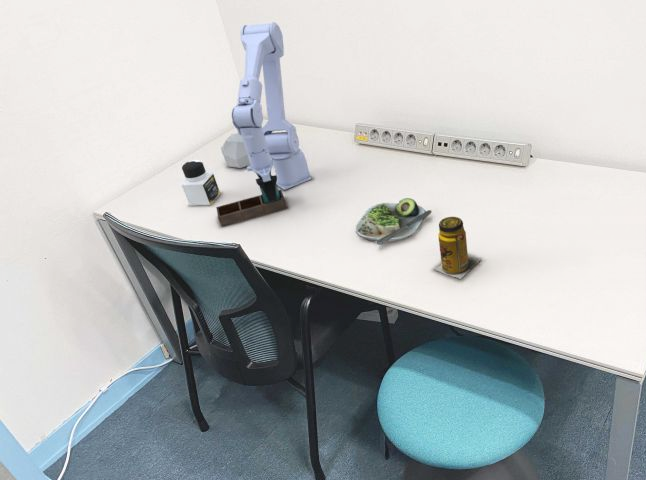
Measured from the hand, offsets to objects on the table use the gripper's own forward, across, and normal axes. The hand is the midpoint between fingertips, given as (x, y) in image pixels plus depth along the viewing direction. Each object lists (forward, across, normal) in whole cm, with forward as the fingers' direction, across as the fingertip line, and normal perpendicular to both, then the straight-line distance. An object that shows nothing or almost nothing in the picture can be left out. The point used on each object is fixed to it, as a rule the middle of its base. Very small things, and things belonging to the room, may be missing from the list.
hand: (270, 194), depth 170 cm
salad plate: (+4, +27, +27) cm, 39 cm away
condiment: (+4, +52, +35) cm, 63 cm away
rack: (+4, 0, -6) cm, 7 cm away
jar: (+3, 0, 0) cm, 3 cm away
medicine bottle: (+4, -16, -19) cm, 25 cm away
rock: (+4, -38, -1) cm, 38 cm away
